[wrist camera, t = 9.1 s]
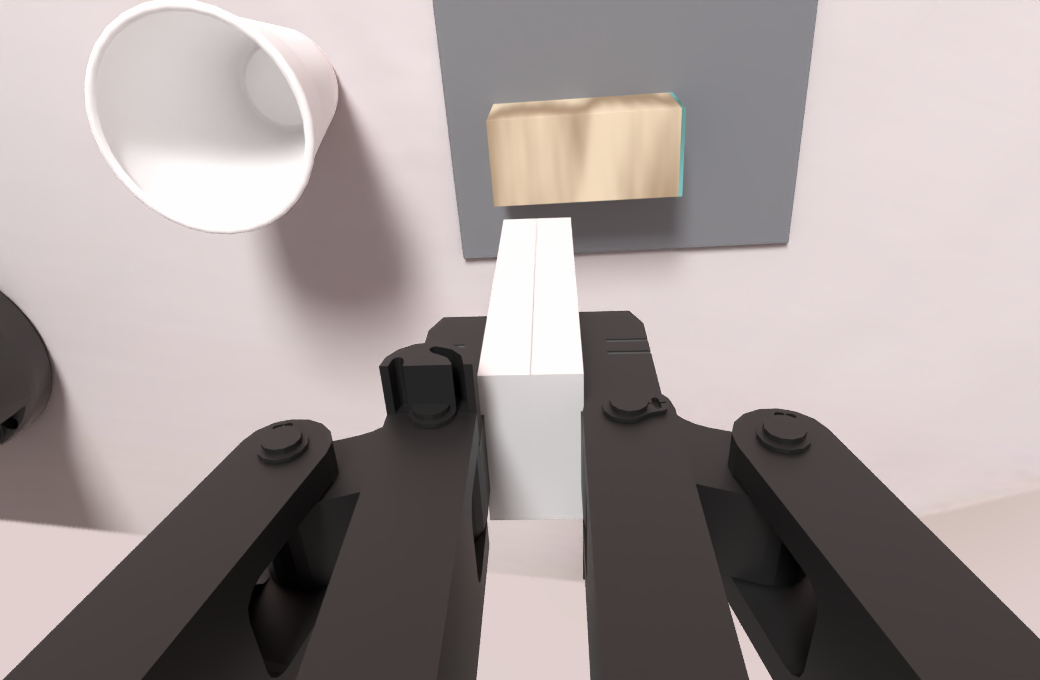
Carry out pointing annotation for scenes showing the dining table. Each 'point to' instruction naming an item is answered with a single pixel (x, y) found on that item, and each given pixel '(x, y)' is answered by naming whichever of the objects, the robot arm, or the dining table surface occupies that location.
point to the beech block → (587, 149)
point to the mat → (631, 71)
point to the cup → (209, 112)
